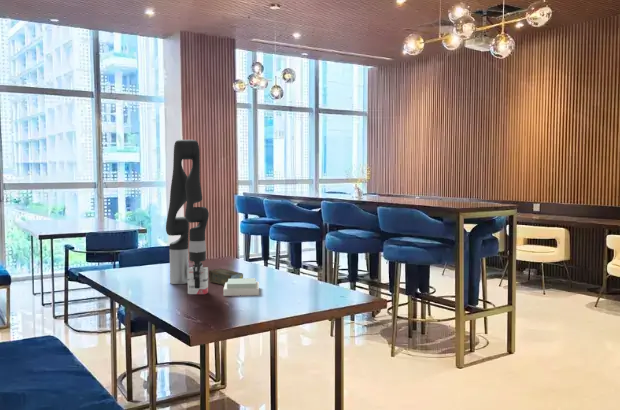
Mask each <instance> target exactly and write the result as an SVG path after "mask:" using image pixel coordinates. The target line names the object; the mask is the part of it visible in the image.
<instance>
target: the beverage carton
mask: <svg viewBox="0 0 620 410" xmlns="http://www.w3.org/2000/svg"><path fill="white" fill-rule="evenodd" d="M242 278H244V273H241V272H239V271H233V270H229V269H226V268H221V267H220V268H216V269H208V283H209V282H210V283H213V284H218V285H222V286H225V282H228V279H242Z"/></svg>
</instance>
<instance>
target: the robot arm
mask: <svg viewBox="0 0 620 410" xmlns="http://www.w3.org/2000/svg"><path fill="white" fill-rule="evenodd" d="M200 155H201V153H200V145H199V142H198V140H195V139H176V141H175V143H174V145H173V160H172V163H173V164H172V165H173V166H172V175H171V183H170V185H171V186H170V190H169V191H170V192H169V193H170V194H169V205H168V212H167V216H166V222H165V232H166V234H167V236H172V237H173V236H175V237H176V236H180V237H179V238H178V239H177V240H174V241H172V242H170V243H169V283H170V284H171V285H172V284H173V285H183V284H188V270H187V269H188V268H190V267H189V265H190V263H189V262H192V263H193V262H194V264H193V265H192V267H193V275H194V278H193V279H194V280H195V288H200V275H201V270H200V268H202V267H203V262H205V261H207V252H206V251H207V243H206V228H207V224H208V221H209V215H210V214H209V213H210V212H209V209H208V208H207V207H205V206H194V205H195V204H196V203H197V204H198V203H200V202H202V201H203V193H202V185H201V162H200V161H201V160H200V159H201V156H200ZM183 160H191V162H192V163H191V164H192V165H191V169H190V172H189V174H186V172H185V170H184V168H183V163H182V162H183ZM185 204H186V206H185V211H184V216H177V214H178V213H179V211H180V209H181V208H183V206H184V205H185ZM190 223H191V224H192V223H198V224H197V225H196V226H194V227H191V228H190ZM199 271H200V273H199ZM196 275H198V277H196Z"/></svg>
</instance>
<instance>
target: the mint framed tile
mask: <svg viewBox="0 0 620 410" xmlns="http://www.w3.org/2000/svg"><path fill="white" fill-rule="evenodd" d="M223 286H224V287H223V295H222V296H223V297H229V296H231V297H233V296H234V297H235V296H236V297H238V296H239V297H240V295H241V296H260V282H259V281H257V278H255V277H253V278H252V277H251V278H249V277H248V278H246V277H245V278H244V277H243V278H242V279H228V282H225V285H223Z"/></svg>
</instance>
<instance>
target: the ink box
mask: <svg viewBox="0 0 620 410" xmlns="http://www.w3.org/2000/svg"><path fill="white" fill-rule="evenodd" d="M187 270H188V283H187V295H206V294H208V293H209V267H203V266H202V268H200V270H201V275H200V288H195V280H194V279H193V278H194V275H193V266H191V267H189V268H188V269H187ZM199 273H200V271H199ZM196 277H198V275H196Z"/></svg>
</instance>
